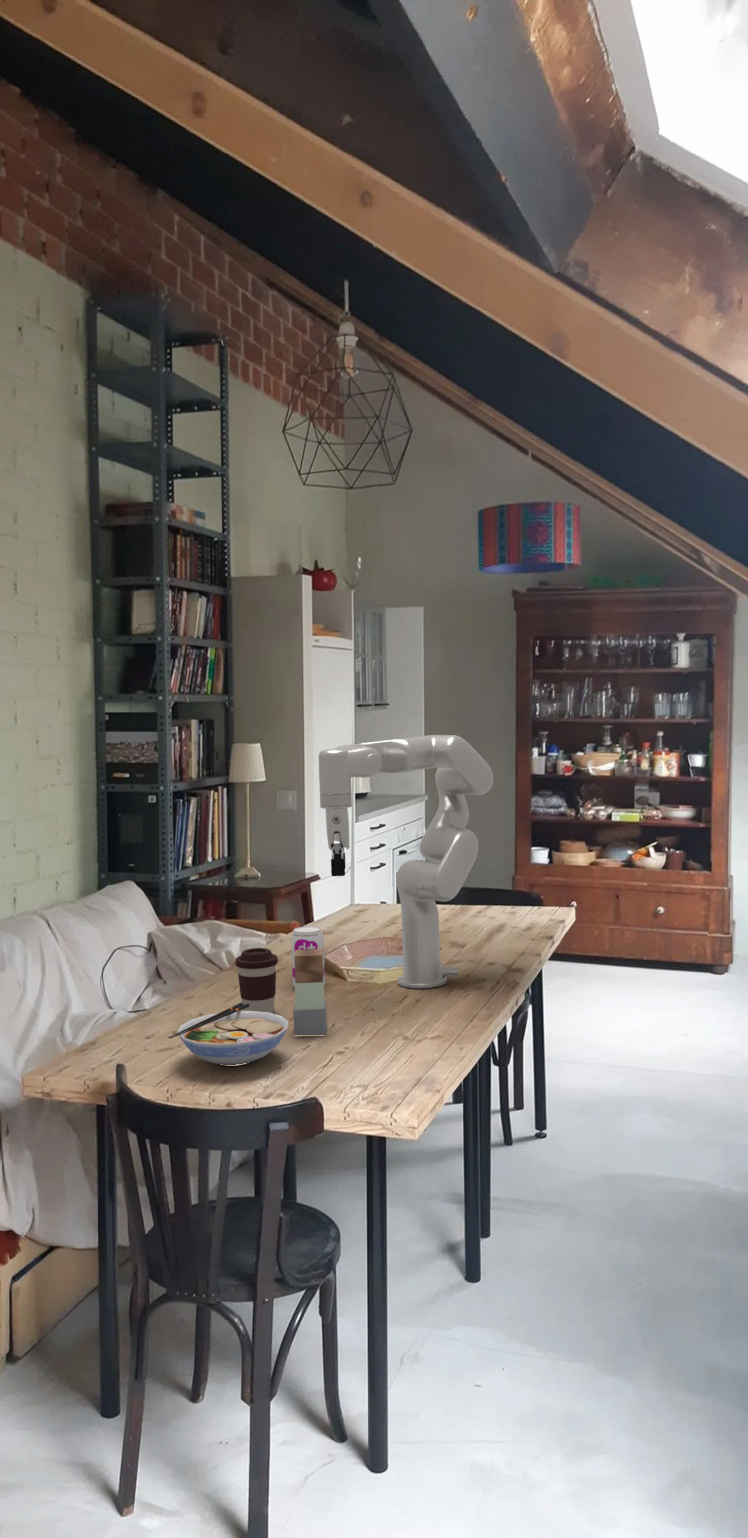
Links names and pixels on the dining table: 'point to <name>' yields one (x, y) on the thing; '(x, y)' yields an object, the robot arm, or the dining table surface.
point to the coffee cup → (257, 979)
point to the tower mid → (309, 996)
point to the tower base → (310, 1021)
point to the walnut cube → (308, 966)
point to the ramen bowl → (233, 1035)
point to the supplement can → (306, 943)
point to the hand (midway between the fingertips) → (338, 872)
